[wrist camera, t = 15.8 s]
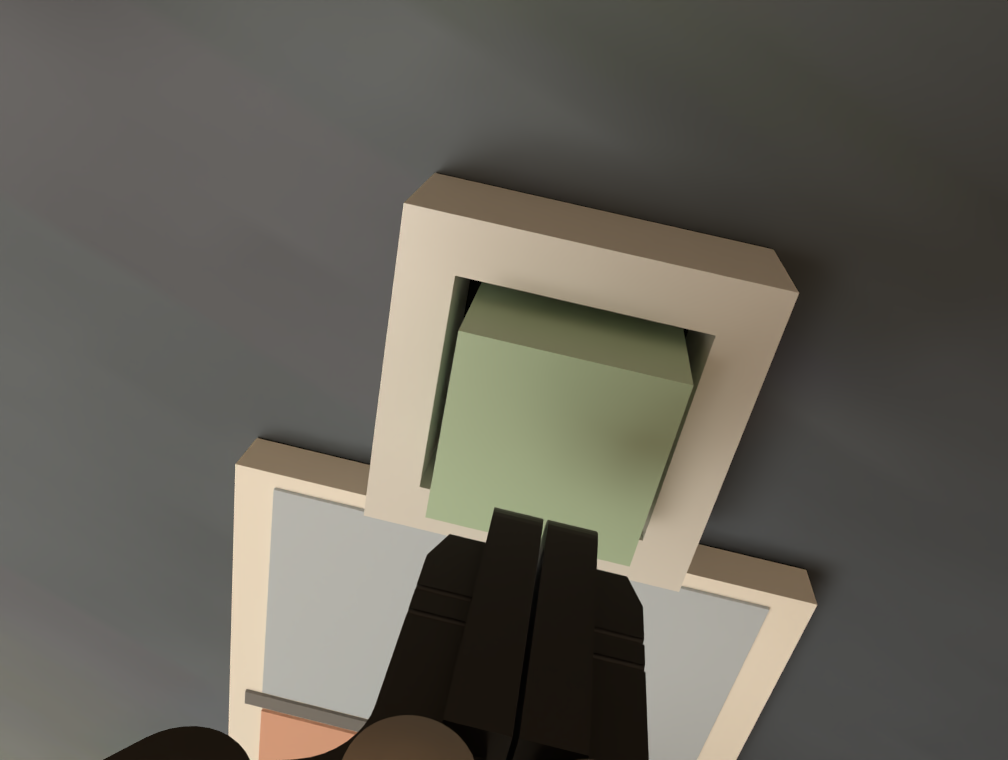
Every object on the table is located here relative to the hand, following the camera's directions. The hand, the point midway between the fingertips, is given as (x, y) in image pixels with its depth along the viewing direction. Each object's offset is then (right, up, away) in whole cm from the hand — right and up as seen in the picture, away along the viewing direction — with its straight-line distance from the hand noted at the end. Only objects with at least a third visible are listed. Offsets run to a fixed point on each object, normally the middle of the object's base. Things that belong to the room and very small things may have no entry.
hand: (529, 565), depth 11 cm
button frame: (+1, +3, +6) cm, 7 cm away
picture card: (-1, -7, +12) cm, 14 cm away
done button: (+1, +2, +5) cm, 5 cm away
